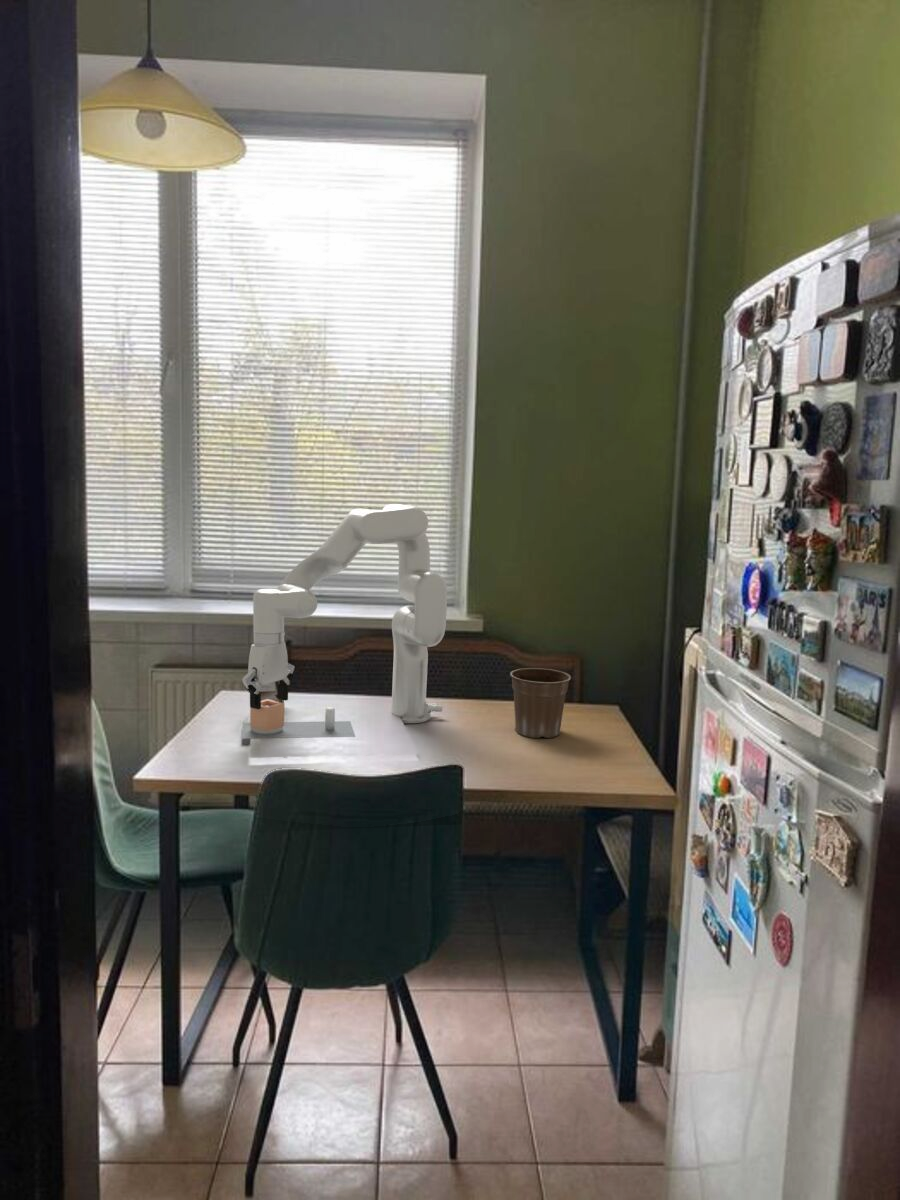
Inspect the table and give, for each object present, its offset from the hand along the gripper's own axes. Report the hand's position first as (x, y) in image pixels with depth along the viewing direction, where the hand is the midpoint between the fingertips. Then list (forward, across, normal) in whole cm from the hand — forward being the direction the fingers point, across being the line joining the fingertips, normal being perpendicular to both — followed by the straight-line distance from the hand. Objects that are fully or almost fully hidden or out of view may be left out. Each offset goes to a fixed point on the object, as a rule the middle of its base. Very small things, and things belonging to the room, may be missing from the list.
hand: (269, 703), depth 221 cm
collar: (+6, +1, 0) cm, 6 cm away
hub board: (+8, -5, +5) cm, 11 cm away
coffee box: (+9, -14, -14) cm, 22 cm away
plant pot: (+10, -50, +51) cm, 72 cm away
